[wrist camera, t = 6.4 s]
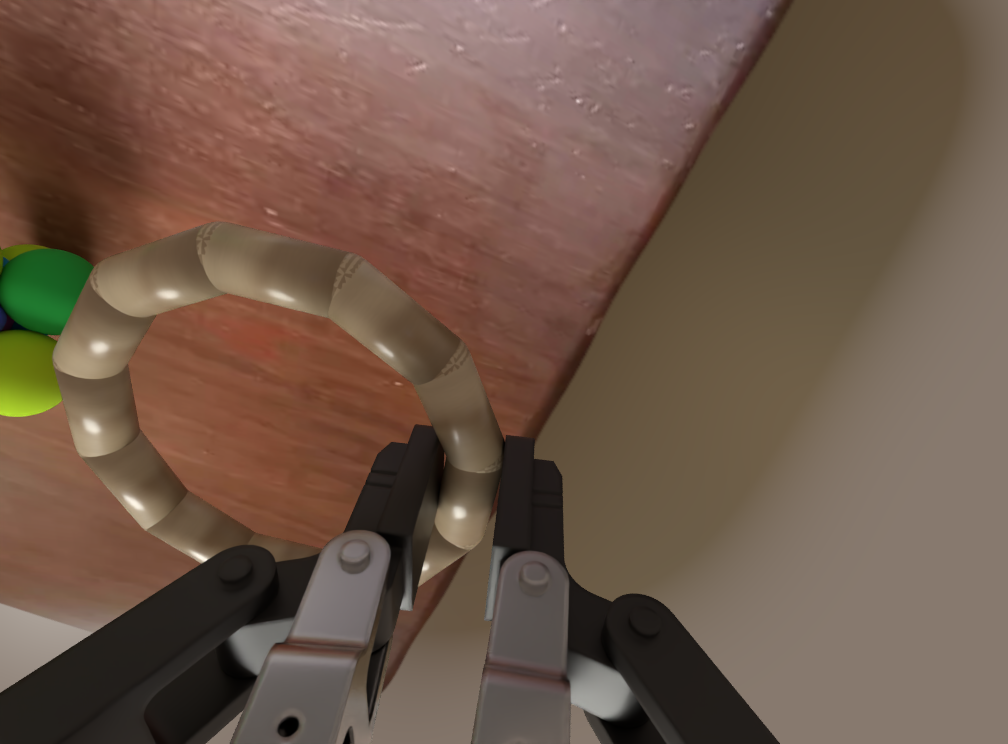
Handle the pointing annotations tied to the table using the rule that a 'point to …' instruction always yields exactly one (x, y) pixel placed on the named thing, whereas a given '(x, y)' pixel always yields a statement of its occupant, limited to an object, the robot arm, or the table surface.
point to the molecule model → (34, 322)
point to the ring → (288, 283)
